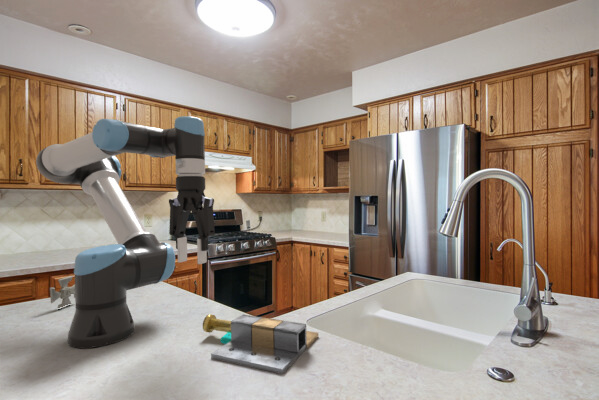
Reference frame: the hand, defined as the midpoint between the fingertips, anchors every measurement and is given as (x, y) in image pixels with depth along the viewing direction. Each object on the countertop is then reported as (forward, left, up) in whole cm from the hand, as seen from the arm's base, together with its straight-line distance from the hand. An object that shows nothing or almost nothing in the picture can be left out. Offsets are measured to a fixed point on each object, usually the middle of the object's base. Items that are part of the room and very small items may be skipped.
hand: (192, 262), depth 91 cm
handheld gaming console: (+17, +2, -20) cm, 26 cm away
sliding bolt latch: (+23, 0, -19) cm, 30 cm away
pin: (+15, 0, -18) cm, 23 cm away
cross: (-56, 0, -19) cm, 59 cm away
